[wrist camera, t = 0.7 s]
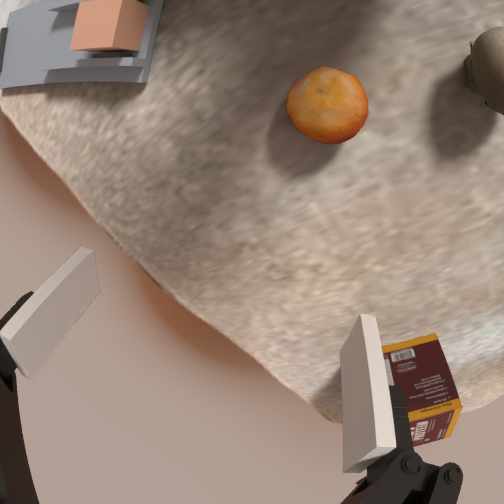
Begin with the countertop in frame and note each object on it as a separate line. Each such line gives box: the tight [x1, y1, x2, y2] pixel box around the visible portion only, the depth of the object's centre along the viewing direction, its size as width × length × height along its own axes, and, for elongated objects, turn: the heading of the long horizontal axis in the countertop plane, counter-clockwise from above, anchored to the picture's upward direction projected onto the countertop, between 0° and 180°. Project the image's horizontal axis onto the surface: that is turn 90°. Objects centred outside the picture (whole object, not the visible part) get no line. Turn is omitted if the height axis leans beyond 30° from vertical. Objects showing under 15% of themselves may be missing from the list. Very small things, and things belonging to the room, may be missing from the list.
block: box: [70, 0, 149, 52], centre depth 24 cm, size 6×6×6 cm
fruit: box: [286, 67, 368, 144], centre depth 28 cm, size 8×8×8 cm
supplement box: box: [382, 333, 463, 447], centre depth 40 cm, size 10×15×16 cm
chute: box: [0, 0, 164, 89], centre depth 26 cm, size 14×30×4 cm, turn 78°
